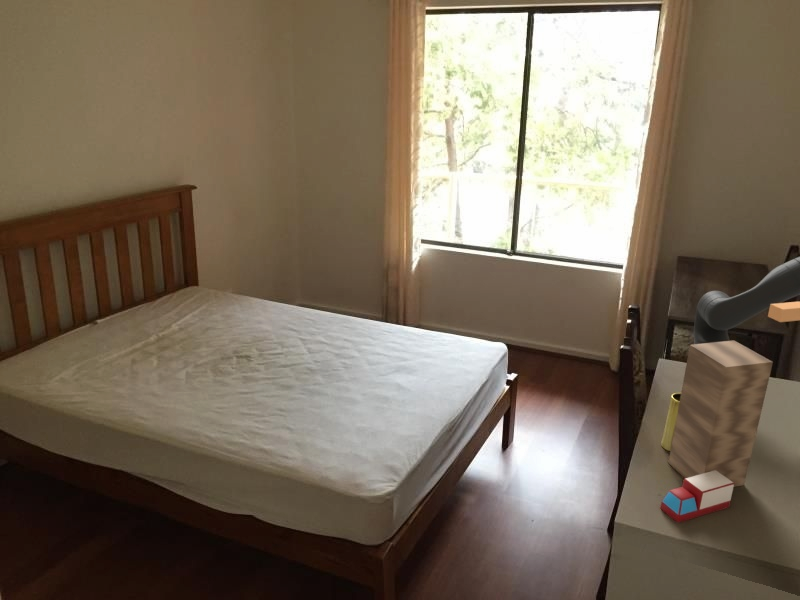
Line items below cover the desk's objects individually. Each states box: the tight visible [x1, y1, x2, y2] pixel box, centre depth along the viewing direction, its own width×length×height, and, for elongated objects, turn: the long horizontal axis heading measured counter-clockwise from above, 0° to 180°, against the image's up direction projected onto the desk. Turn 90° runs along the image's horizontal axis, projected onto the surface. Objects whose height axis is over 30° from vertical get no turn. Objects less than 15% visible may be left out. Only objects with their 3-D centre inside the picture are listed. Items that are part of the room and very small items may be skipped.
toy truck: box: [660, 470, 735, 523], centre depth 146 cm, size 6×15×7 cm, turn 112°
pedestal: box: [668, 340, 774, 488], centre depth 154 cm, size 12×12×32 cm
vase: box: [660, 392, 681, 452], centre depth 168 cm, size 6×6×14 cm
